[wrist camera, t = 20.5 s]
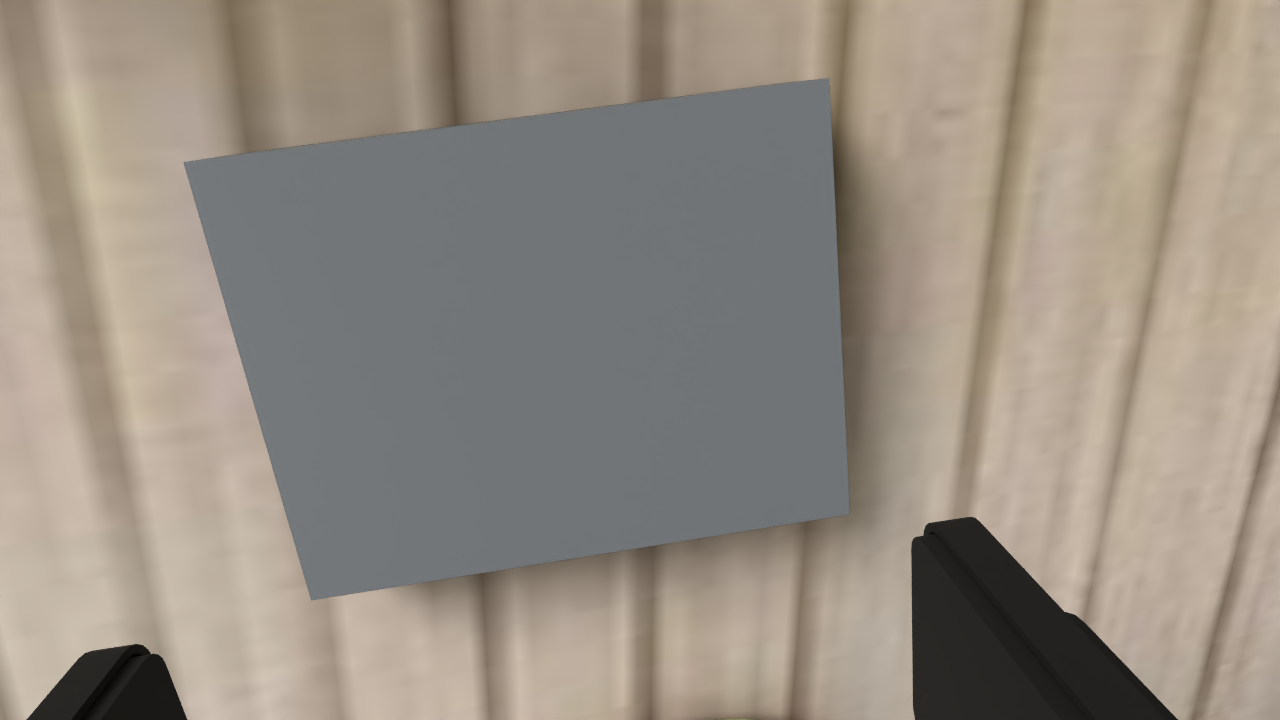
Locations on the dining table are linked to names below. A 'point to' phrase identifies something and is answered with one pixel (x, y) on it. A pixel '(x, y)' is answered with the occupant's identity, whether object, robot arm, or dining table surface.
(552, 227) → the podium
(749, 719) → the fruit
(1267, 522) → the dining table surface
